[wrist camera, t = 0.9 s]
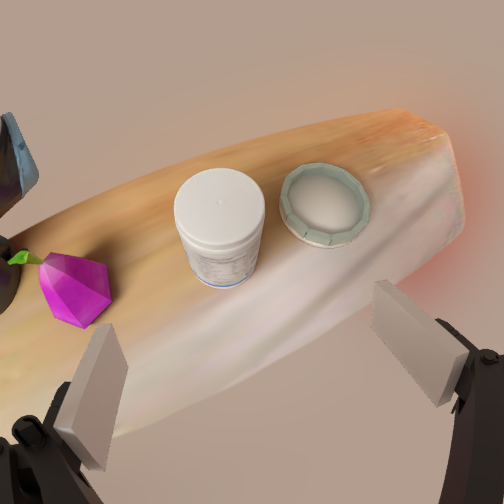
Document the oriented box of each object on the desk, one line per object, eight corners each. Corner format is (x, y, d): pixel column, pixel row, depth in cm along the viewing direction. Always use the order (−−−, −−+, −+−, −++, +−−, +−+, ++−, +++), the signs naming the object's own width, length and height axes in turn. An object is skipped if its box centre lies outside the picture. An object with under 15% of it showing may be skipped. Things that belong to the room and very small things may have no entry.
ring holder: (268, 233, 46) (270, 223, 43) (290, 165, 52) (292, 153, 49) (357, 259, 45) (364, 251, 42) (366, 188, 51) (372, 178, 48)
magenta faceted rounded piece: (101, 247, 44) (57, 192, 30) (129, 307, 40) (82, 267, 27) (46, 283, 41) (-10, 242, 27) (69, 344, 37) (5, 320, 24)
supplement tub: (187, 233, 45) (170, 170, 32) (250, 225, 46) (256, 159, 33) (194, 296, 41) (174, 251, 28) (262, 286, 43) (275, 237, 29)
